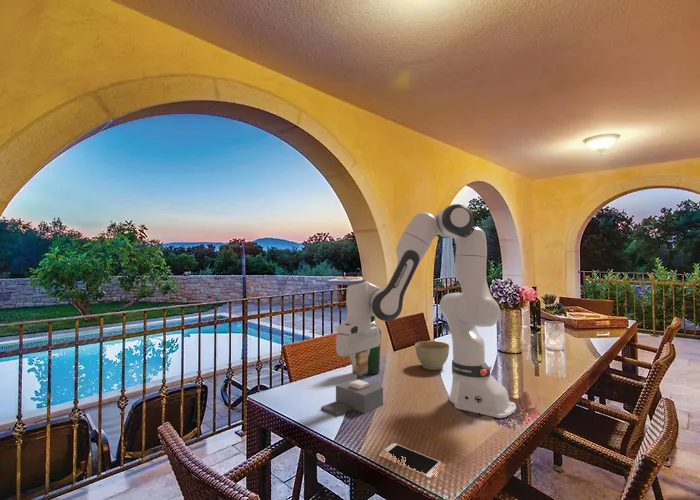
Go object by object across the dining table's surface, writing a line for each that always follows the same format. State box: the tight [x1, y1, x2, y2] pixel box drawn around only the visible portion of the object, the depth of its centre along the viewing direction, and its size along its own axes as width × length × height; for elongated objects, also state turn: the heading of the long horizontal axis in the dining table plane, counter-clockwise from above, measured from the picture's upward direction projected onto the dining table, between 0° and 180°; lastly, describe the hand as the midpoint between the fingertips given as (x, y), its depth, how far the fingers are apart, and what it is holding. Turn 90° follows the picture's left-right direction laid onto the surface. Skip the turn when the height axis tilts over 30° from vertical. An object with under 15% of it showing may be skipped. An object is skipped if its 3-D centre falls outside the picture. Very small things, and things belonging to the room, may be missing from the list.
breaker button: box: [349, 379, 370, 391], centre depth 126 cm, size 5×5×5 cm
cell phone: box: [383, 442, 442, 478], centre depth 90 cm, size 8×16×1 cm, turn 49°
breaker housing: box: [335, 378, 384, 414], centre depth 126 cm, size 14×10×6 cm
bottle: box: [366, 314, 382, 376], centre depth 161 cm, size 11×11×28 cm
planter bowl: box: [414, 340, 450, 371], centre depth 168 cm, size 16×16×11 cm
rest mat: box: [320, 401, 353, 417], centre depth 121 cm, size 8×7×1 cm
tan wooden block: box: [351, 351, 368, 377], centre depth 127 cm, size 4×4×8 cm
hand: (360, 363), depth 127 cm, fingers closed on tan wooden block, 4 cm apart
